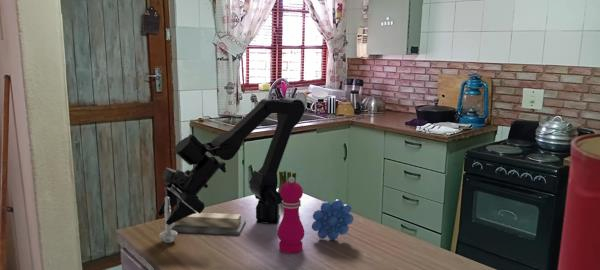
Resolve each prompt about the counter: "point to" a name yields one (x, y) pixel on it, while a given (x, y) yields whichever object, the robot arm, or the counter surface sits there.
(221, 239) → the counter surface
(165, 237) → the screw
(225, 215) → the stand
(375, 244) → the counter surface
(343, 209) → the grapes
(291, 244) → the pepper mill
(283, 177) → the fennel bulb
